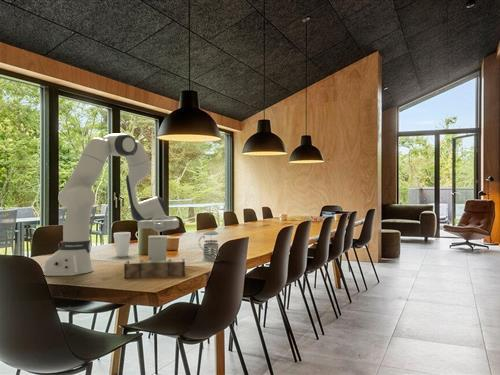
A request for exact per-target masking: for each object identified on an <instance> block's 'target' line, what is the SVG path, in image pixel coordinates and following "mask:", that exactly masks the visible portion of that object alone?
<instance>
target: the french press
mask: <svg viewBox="0 0 500 375" xmlns="http://www.w3.org/2000/svg"><path fill="white" fill-rule="evenodd" d="M208 215H210V216H212V215H213V212H209V213H208ZM202 234H203V235H202V236H201V237H200V238H199V239H198V241H201V239H202V238H203V239H205V237H206V236H216V235H217V236H218V235H219V234H220V233H219V232H217V231H215V230H212V229H210V230H207V231H205V232H203V233H202ZM217 242H218V240H216V239H215V240H214V239H209V240H208V239H207V240H204V244H203V247H202V246H201V244H199V245H198V246H199V248H200V249H201V250H202V251H203V258H202V259H201V260H202V261H208V262H209V261H211V262H212V261H216V260H215V257H216V254H217V252H218V253H219V243H217Z"/></svg>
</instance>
